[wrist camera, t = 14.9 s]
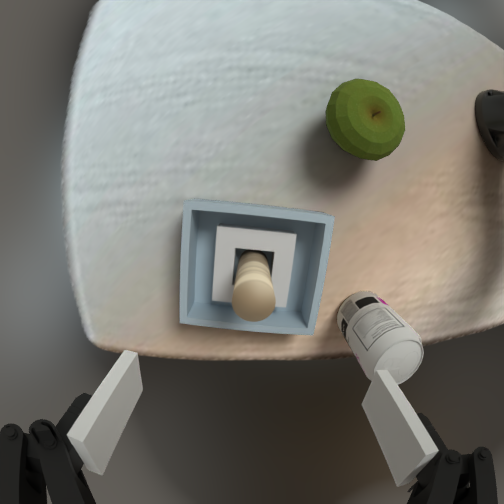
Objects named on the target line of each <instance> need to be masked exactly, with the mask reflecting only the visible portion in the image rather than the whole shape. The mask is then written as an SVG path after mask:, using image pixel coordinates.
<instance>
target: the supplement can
mask: <svg viewBox="0 0 504 504" xmlns="http://www.w3.org/2000/svg"><path fill="white" fill-rule="evenodd" d="M337 324H338V326H339V329H340V331H341V332H342V334H343V336H344V338H345V339H346V341H347V343H348V344H349V346H350V348H351V350H352V351H353V353H354V355H355V357H356V358H357V360H358V362H359V363H360V365H361V367H362V369H363V371H364V372H365V374H366V376H367V378H368V379H370V380H371V381H372V379H373V377H374V374H375V372H376V370H388V371H389V373H390V374H391V376H392V377H393V379H394V380H395V382H396V383H397V385H398V384H400V383H403V382H404V381H406V380H407V379H408V378H410V377H411V376H412V375H413V374H414V373H415V371H416V370H417V369H418V368H419V366H420V364H421V362H422V359H423V354H424V352H423V346H422V342H421V337H420V336H419V335H418V333H417V332H416V331H415V330H414V329H413V328H412V327H411V326H410V325H409V324H408V323H407V322H406V321H405V320H404V319H402V318H401V317H400V316H399V315H398V314H397V313H396V312H395V311H394V310H393V309H392V308H391V307H390V306H389V305H388V304H386V303H385V302H384V301H383V300H382V299H381V298H380V297H379V296H378V295H377V294H375V293H373V292H370V291H360V292H357V293H355V294H352V295H351V296H350V297H348V298H347V299H346V300H345V301H344V302H343V304H342V305H341V306H340V308H339V311H338V314H337Z"/></svg>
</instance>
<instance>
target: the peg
mask: <svg viewBox="0 0 504 504" xmlns="http://www.w3.org/2000/svg"><path fill="white" fill-rule="evenodd" d="M275 304H276V299H275V294H274V289H273V285H272V280H271V275H270V270H269V265H268V261H267V257H266V255H265V254H264V253H263V252H262V251H261V250H252V249H247V250H245V251H244V252H243V253H242V254H241V256H240V258H239V263H238V268H237V274H236V279H235V285H234V290H233V296H232V307H233V310H234V312H235V313H236V314H237V315H238V316H239V317H240V318H242V319H243V320H246V321H250V322H257V321H261V320H264V319H266V318H267V317H269V316H270V315H271V313H272V312H273V310H274V308H275Z"/></svg>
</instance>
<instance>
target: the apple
mask: <svg viewBox="0 0 504 504" xmlns="http://www.w3.org/2000/svg"><path fill="white" fill-rule="evenodd" d="M326 126H327V128H328V130H329V132H330V135H331V137H332V139H333V140H334V141H335V142H336V143H337V144H338V145H339V146H340V147H341V148H342V150H344V151H346V152H348V153H350V154H352V155H354V156H356V157H359V158H361V159H368V160H375V161H377V160H379V159H382V158H384V157H386V156H388V155H390V154H391V153H392V152H393V151H394V150H395V149H396V148H397V147H398V146H399V144H400V142H401V139H402V137H403V134H404V131H405V122H404V115H403V112H402V109H401V107H400V104H399V102H398V101H397V99H396V98H395V97H394V95H393V94H392V93H391V92H390V90H389V89H387V88H385V87H384V86H382V85H380V84H379V83H377V82H373V81H369V80H364V79H354V80H350V81H347V82H344V83H342V84H341V85H340V86H339V87H338V88H336V89H335V90H334V91H333V92H332V94H331V97H330V100H329V102H328V105H327V108H326Z"/></svg>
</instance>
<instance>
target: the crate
mask: <svg viewBox="0 0 504 504" xmlns="http://www.w3.org/2000/svg"><path fill="white" fill-rule="evenodd" d="M334 217H335V216H332V215H329V214H326V213H323V212H317V211H310V210H302V209H294V208H286V207H277V206H268V205H259V204H249V203H239V202H228V201H216V200H204V199H190V200H185V201H184V207H183V221H182V239H181V262H180V323H184V324H191V325H198V326H206V327H214V328H223V329H233V330H243V331H254V332H266V333H280V334H297V335H313V334H314V329H315V325H316V320H317V315H318V311H319V306H320V301H321V296H322V291H323V285H324V280H325V275H326V269H327V263H328V257H329V251H330V245H331V238H332V232H333V225H334ZM247 249H252V250H261V251H262V252H263V253H264V254H265V255H266V257H267V261H268V265H269V270H270V275H271V280H272V285H273V289H274V294H275V299H276V304H275V308H274V310H273V312H272V313H271V315H270V316H269V317H267V318H266V319H264V320H261V321H257V322H250V321H246V320H243V319H242V318H240V317H239V316H238V315H237V314H236V313H235V312H234V310H233V307H232V296H233V290H234V285H235V279H236V274H237V268H238V263H239V258H240V256H241V254H242V253H243V252H244V251H245V250H247Z"/></svg>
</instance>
